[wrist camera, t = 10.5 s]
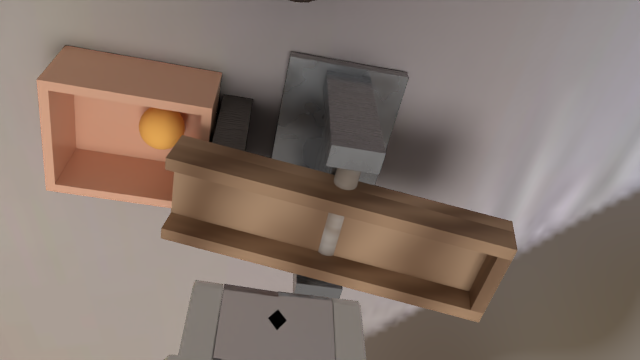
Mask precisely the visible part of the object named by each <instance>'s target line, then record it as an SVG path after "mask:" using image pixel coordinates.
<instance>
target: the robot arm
mask: <svg viewBox="0 0 640 360" xmlns="http://www.w3.org/2000/svg"><path fill="white" fill-rule="evenodd" d="M222 291H223V294H222ZM221 298H222V301H221ZM220 305H221V307H220ZM219 312H220V313H219ZM218 319H219V320H218ZM164 360H366V354H365V344H364V334H363V325H362V315H361V306H360V304H359V302H358V301H353V300H345V299H337V298H331V299H330V298H329V297H321V296H312V295H304V294H295V293H287V292H274V291H268V290H261V289H255V288H248V287H242V286H235V285H229V284H224V288H223V284H219V283H212V282H206V281H199V280H195V283H194V285H193V288H192V293H191V297H190V302H189V307H188V311H187V316H186V321H185V325H184V330H183V335H182V339H181V344H180V349H179V353H178V355H168V356H167V357H166V358H165V359H164Z"/></svg>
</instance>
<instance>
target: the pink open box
mask: <svg viewBox="0 0 640 360" xmlns="http://www.w3.org/2000/svg"><path fill="white" fill-rule="evenodd" d="M221 77H222V73H221V72H215V71H209V70H204V69H198V68H192V67H187V66H181V65H175V64H169V63H164V62H158V61H152V60H146V59H141V58H135V57H129V56H124V55H118V54H112V53H106V52H101V51H95V50H89V49H84V48H78V47H72V46H66V45H65V46H64V47H63V49H62V50H61V51H60V52H59V53H58V55H57V56H56V57H55V58H54V59H53V61H52V62H51V63H50V64H49V65H48V67H47V68H46V69H45V70H44V71H43V73H42V74H41V75H40V76H39V77H38V79H37V89H38V101H39V113H40V124H41V136H42V148H43V159H44V171H45V183H46V190H48V191H55V192H62V193H69V194H76V195H83V196H90V197H97V198H104V199H111V200H118V201H125V202H132V203H139V204H146V205H153V206H160V207H167V208H172V194H173V180H174V172H173V171H169V170H165V161H166V157H167V155H168V154H169V153H170V151H171V150H172V148H173V147H172V148H170V149H165V150H160V149H155V148H152V147H150V146H149V145H148V144H146V143H145V142H144V140H143V139H142V137H141V135H140V132H139V122H140V119H141V116H142V115H143V114H144V112H145V111H146V110H148V109H149V108H151V107H152V108H158V109H164V110H170V111H176V112H179V113H180V115H181V116H182V118H183V120H184V124H185V132H184V136H188V137H192V138H196V139H199V140H203V141H207V142H211V143H212V141H213V137H214V133H215V129H216V121H217V112H218V103H219V95H220V86H221Z"/></svg>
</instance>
